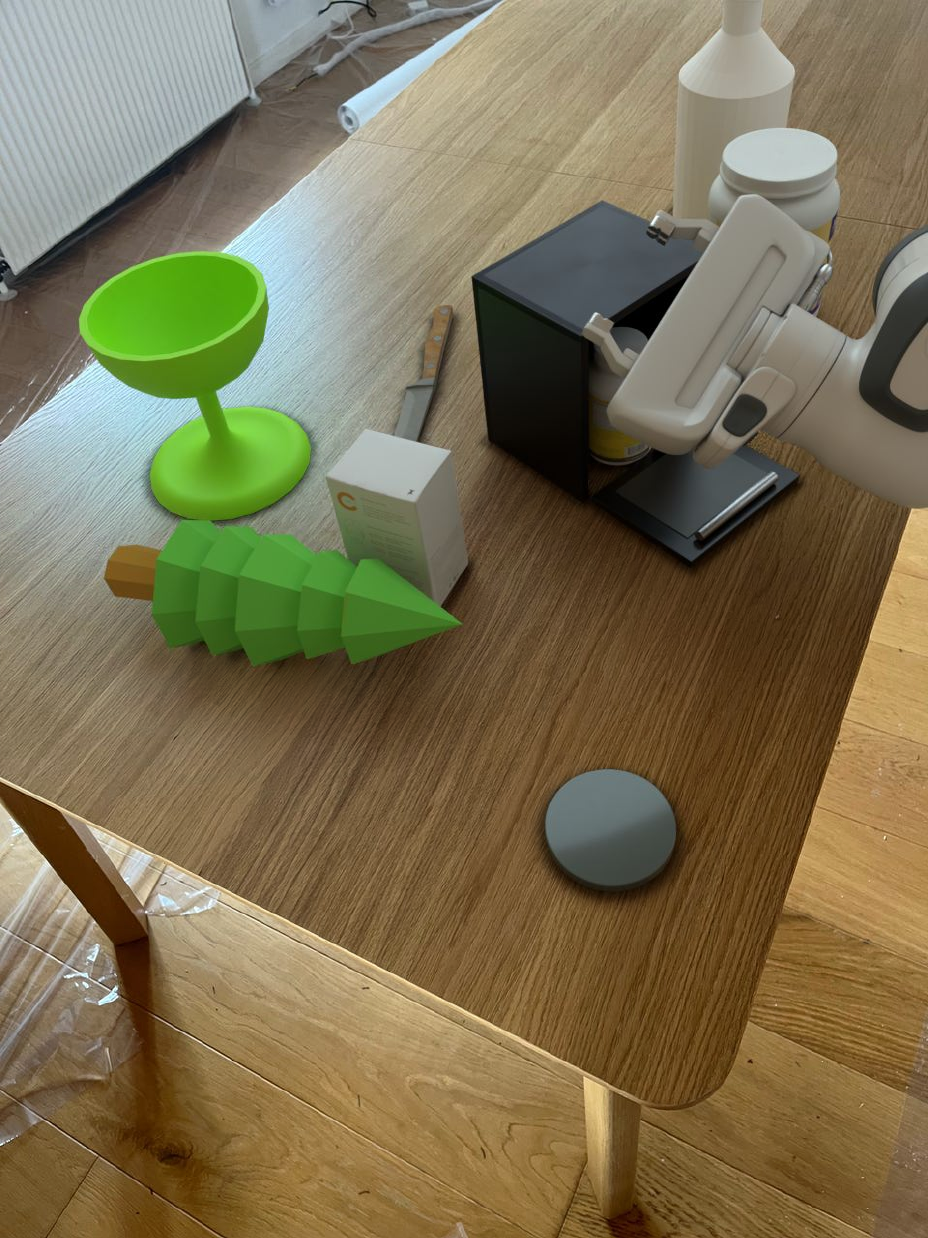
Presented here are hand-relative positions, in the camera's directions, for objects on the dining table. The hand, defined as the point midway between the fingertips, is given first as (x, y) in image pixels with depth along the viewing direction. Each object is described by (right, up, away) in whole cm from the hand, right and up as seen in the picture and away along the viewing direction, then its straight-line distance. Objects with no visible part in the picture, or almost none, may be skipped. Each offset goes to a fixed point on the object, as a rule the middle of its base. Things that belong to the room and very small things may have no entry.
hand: (619, 271), depth 78 cm
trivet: (-2, -41, -6) cm, 42 cm away
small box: (-16, -23, +11) cm, 30 cm away
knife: (-17, -5, +26) cm, 31 cm away
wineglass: (-35, -11, +23) cm, 43 cm away
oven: (+4, -11, +17) cm, 21 cm away
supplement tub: (+19, +6, +30) cm, 36 cm away
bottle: (+18, +21, +42) cm, 51 cm away
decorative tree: (-26, -29, +7) cm, 39 cm away
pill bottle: (+3, -10, +19) cm, 22 cm away
